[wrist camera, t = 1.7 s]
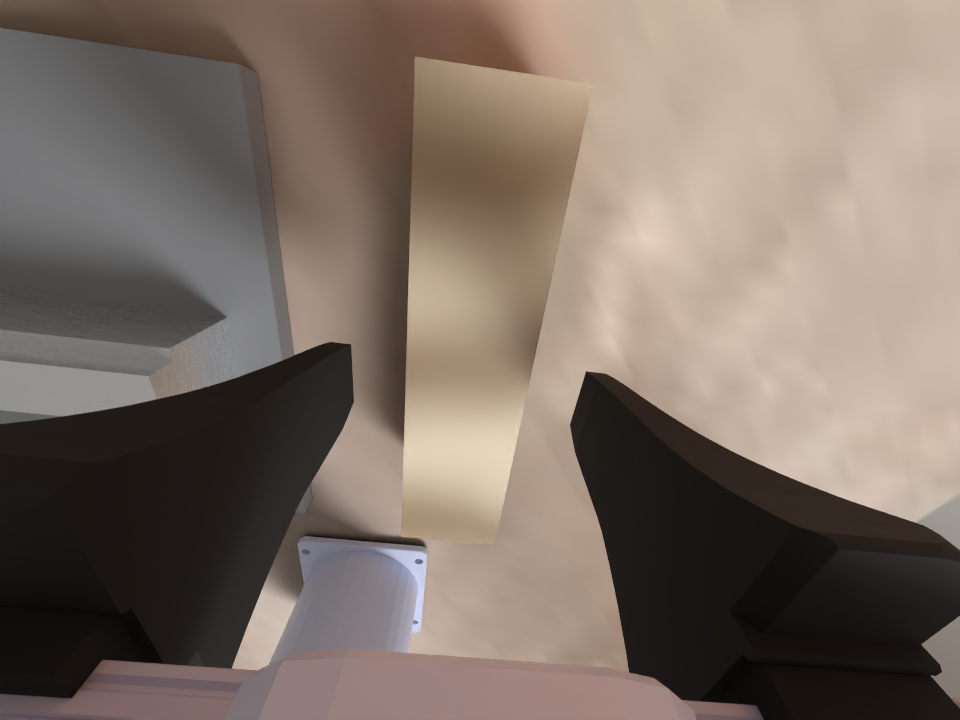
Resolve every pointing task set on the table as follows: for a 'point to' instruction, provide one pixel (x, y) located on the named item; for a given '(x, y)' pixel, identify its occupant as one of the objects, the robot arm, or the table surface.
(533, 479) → the table surface
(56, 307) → the metal ridge
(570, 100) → the beech bar
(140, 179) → the base plate
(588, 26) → the table surface
